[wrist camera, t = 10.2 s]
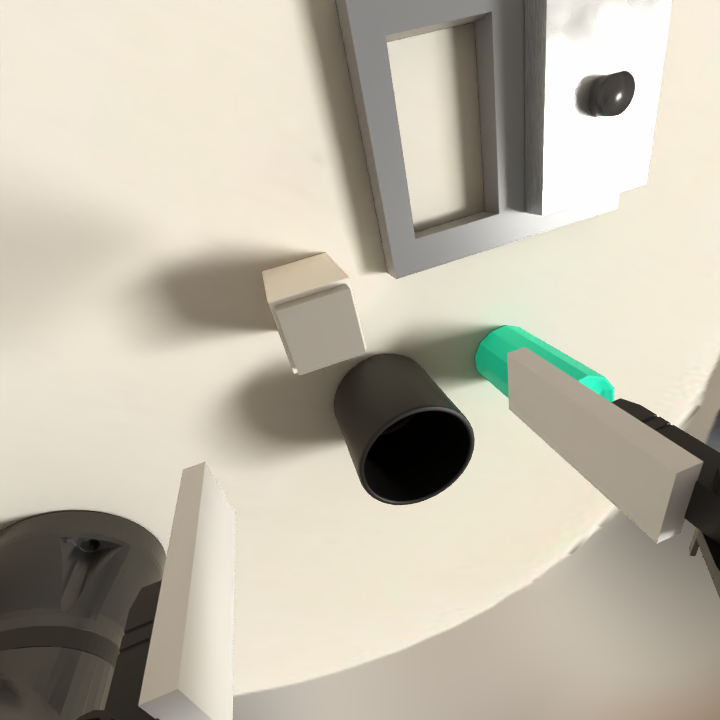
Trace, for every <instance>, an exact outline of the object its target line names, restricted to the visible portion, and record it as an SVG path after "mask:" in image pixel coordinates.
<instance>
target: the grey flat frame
mask: <svg viewBox="0 0 720 720" xmlns="http://www.w3.org/2000/svg"><path fill="white" fill-rule="evenodd" d="M335 1H336V6H337V11H338V16H339V22H340V27H341V32H342V37H343V42H344V48H345V53H346V58H347V63H348V68H349V74H350V79H351V84H352V89H353V95H354V100H355V105H356V110H357V115H358V121H359V126H360V131H361V136H362V141H363V147H364V152H365V157H366V162H367V167H368V173H369V178H370V183H371V188H372V194H373V199H374V204H375V209H376V214H377V220H378V225H379V230H380V235H381V240H382V246H383V251H384V256H385V261H386V266H387V272H388V273H389V274H390V275H391V276H393V277H394V278H396V279H398V278H401V277H404V276H407V275H411V274H414V273H417V272H420V271H423V270H426V269H429V268H433V267H436V266H439V265H442V264H445V263H448V262H451V261H455V260H458V259H461V258H464V257H467V256H470V255H474V254H477V253H480V252H483V251H486V250H489V249H492V248H496V247H499V246H502V245H505V244H508V243H511V242H514V241H518V240H521V239H524V238H527V237H530V236H533V235H537V234H540V233H543V232H546V231H549V230H552V229H555V228H559V227H562V226H565V225H568V224H571V223H574V222H577V221H581V220H584V219H587V218H590V217H593V216H596V215H599V214H603V213H606V212H609V211H612V210H615V209H617V208H618V199H619V192H617V193H614V194H611V195H608V196H605V197H601V198H598V199H595V200H592V201H589V202H585V203H582V204H579V205H576V206H572V207H569V208H566V209H563V210H560V211H556V212H553V213H550V214H547V215H544V216H541V215H535V214H529V213H525V0H335ZM472 22H475V36H476V54H477V73H478V91H479V110H480V129H481V147H482V166H483V184H484V203H485V211H484V212H480V213H477V214H474V215H470V216H467V217H464V218H460V219H457V220H454V221H451V222H447V223H444V224H441V225H437V226H434V227H431V228H427V229H424V230H421V231H417V232H414V227H413V220H412V213H411V206H410V199H409V193H408V186H407V179H406V172H405V165H404V159H403V152H402V145H401V138H400V131H399V125H398V118H397V111H396V104H395V97H394V91H393V84H392V77H391V70H390V63H389V57H388V50H387V43H386V42H390V41H394V40H399V39H403V38H407V37H412V36H416V35H420V34H425V33H429V32H433V31H437V30H442V29H446V28H450V27H455V26H459V25H463V24H468V23H472Z"/></svg>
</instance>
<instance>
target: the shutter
mask: <svg viewBox="0 0 720 720" xmlns="http://www.w3.org/2000/svg"><path fill="white" fill-rule="evenodd" d="M671 6H672V0H525V213H529V214H535V215H541V216H544V215H547V214H550V213H553V212H556V211H560V210H563V209H566V208H569V207H572V206H576V205H579V204H582V203H585V202H589V201H592V200H595V199H598V198H601V197H605V196H608V195H611V194H614V193H617V192H621V191H624V190H627V189H630V188H634V187H637V186H640V185H643V184H646V179H647V172H648V165H649V158H650V151H651V144H652V137H653V131H654V124H655V117H656V110H657V103H658V96H659V89H660V82H661V75H662V68H663V62H664V55H665V48H666V41H667V34H668V27H669V20H670V13H671Z"/></svg>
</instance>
